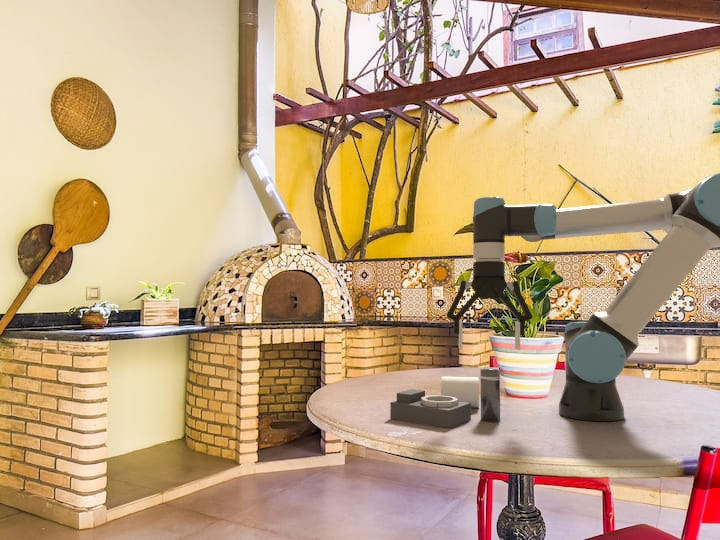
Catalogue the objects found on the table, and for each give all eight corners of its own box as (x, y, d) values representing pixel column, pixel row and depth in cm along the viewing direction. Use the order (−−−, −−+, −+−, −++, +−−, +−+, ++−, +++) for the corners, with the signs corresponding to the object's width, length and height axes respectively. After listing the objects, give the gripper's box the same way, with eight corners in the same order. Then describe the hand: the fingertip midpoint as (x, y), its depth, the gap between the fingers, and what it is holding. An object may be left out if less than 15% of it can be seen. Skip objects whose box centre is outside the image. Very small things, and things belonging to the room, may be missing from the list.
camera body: (470, 419, 135) (470, 394, 136) (449, 428, 127) (449, 401, 127) (414, 411, 145) (413, 387, 145) (390, 418, 136) (390, 393, 136)
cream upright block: (479, 410, 146) (479, 379, 146) (440, 409, 148) (440, 378, 148) (478, 401, 158) (478, 373, 158) (443, 400, 160) (443, 372, 160)
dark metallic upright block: (503, 419, 135) (503, 369, 136) (495, 423, 132) (495, 371, 132) (485, 416, 138) (485, 367, 139) (477, 420, 135) (476, 369, 135)
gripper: (538, 261, 139) (538, 347, 138) (437, 261, 142) (436, 345, 141) (544, 260, 131) (545, 351, 131) (437, 260, 134) (437, 348, 134)
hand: (488, 348), depth 136 cm, fingers open, 13 cm apart
